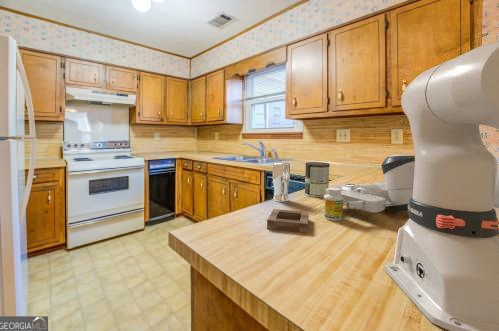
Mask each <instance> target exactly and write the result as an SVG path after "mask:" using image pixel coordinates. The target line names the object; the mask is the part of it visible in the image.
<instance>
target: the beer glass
mask: <svg viewBox="0 0 499 331" xmlns="http://www.w3.org/2000/svg"><path fill="white" fill-rule="evenodd" d="M290 178H291V163H290V162H289V163H288V162H273V165H272V181H273V190H274V191H273V192H274V193H273V198H272V199H274V200H273V201H274V202H277V203H285V202H288V201H289V195H288V190H289V185H290Z"/></svg>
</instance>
